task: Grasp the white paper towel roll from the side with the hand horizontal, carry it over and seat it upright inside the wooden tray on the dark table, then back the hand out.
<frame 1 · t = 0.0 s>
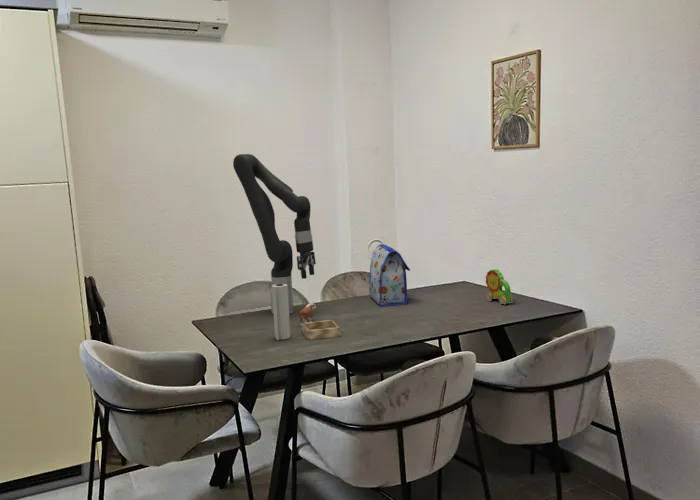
hand: (308, 276, 279), 17 cm above the table, tool pointing down, fingers open, 8 cm apart
paper towel roll: (281, 338, 244), on the table
bull figurine: (307, 323, 265), on the table
lunch bag: (388, 301, 301), on the table
toy lion: (497, 302, 290), on the table
wooden tray: (320, 333, 248), on the table
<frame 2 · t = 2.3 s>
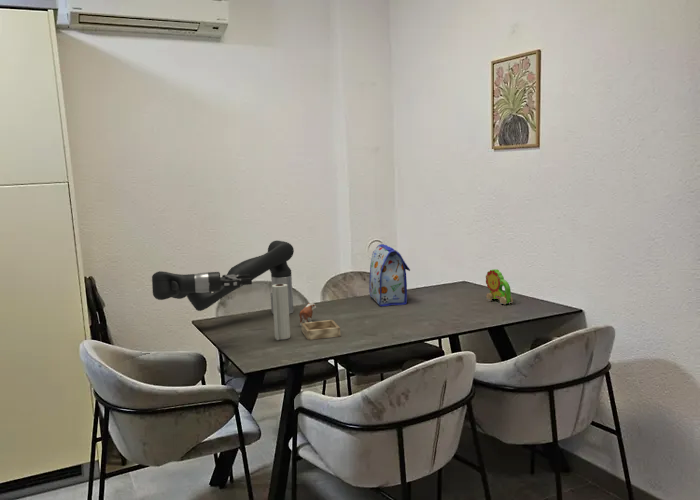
hand: (250, 279, 238), 24 cm above the table, tool horizontal, fingers open, 8 cm apart
nothing on the table moved.
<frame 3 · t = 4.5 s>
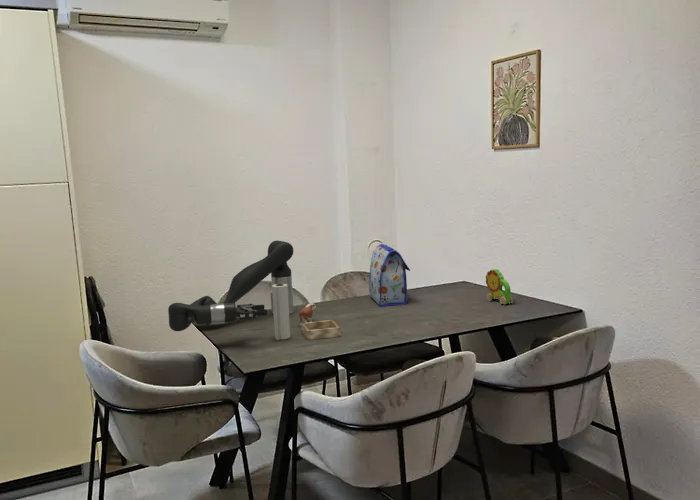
hand: (265, 309, 240), 12 cm above the table, tool horizontal, fingers open, 8 cm apart
nothing on the table moved.
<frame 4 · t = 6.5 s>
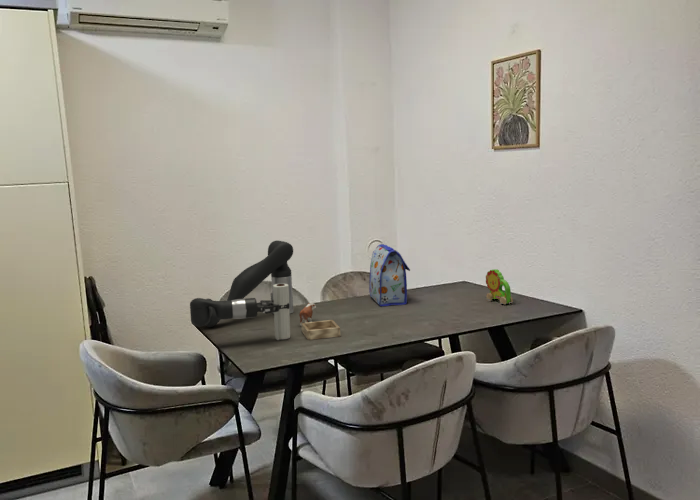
hand: (287, 304, 243), 13 cm above the table, tool horizontal, fingers closed on paper towel roll, 3 cm apart
paper towel roll: (281, 338, 244), on the table, touching gripper
everything else where it was.
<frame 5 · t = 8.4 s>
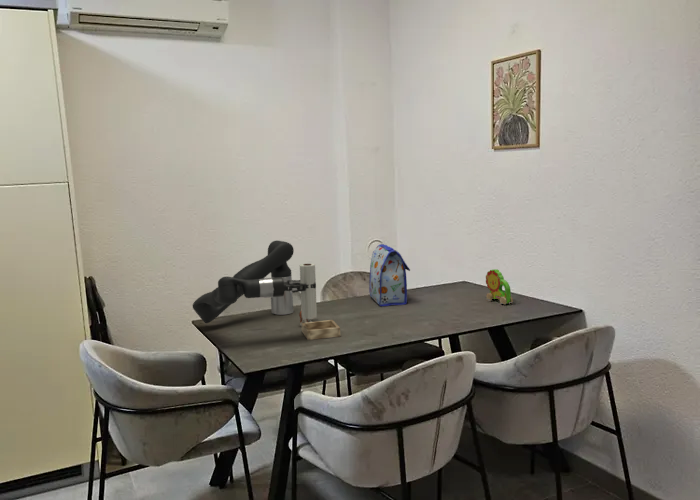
hand: (314, 284, 244), 20 cm above the table, tool horizontal, fingers closed on paper towel roll, 3 cm apart
paper towel roll: (308, 318, 245), point 7 cm above the table, touching gripper
everything else where it was.
when the fingers open (14 cm above the table, at t = 10.3 s): paper towel roll stays where it is, resting on wooden tray.
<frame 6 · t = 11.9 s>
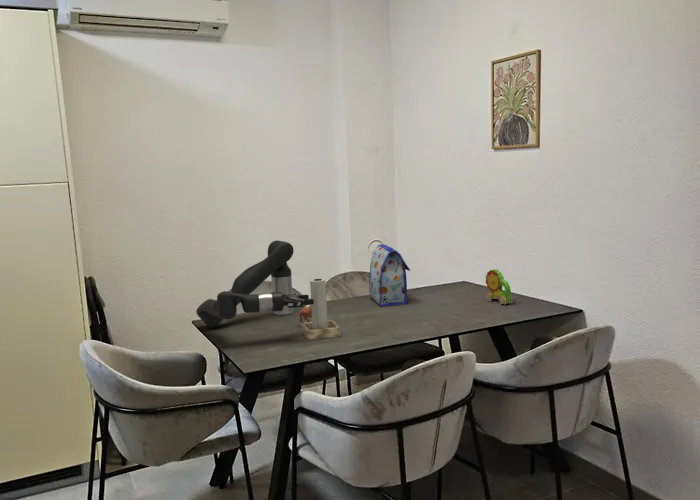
hand: (310, 299, 244), 15 cm above the table, tool horizontal, fingers open, 8 cm apart
paper towel roll: (319, 332, 247), point 1 cm above the table, touching wooden tray
everything else where it was.
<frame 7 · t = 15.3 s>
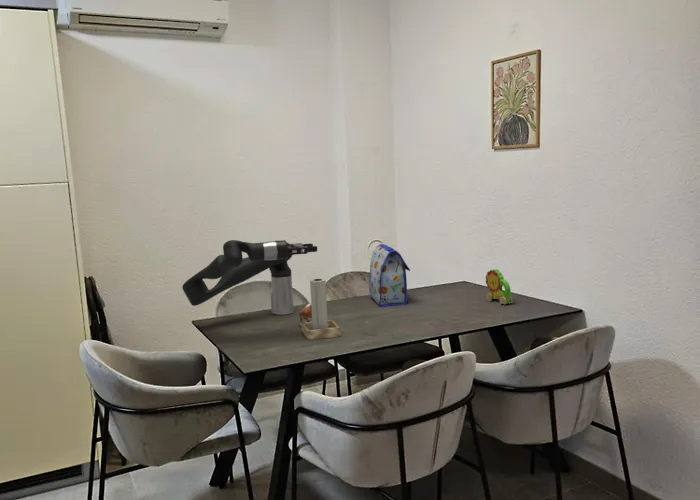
hand: (314, 247, 250), 34 cm above the table, tool horizontal, fingers open, 8 cm apart
nothing on the table moved.
at the end: paper towel roll inside the target area on the wooden tray (0.9 cm from its centre), point 0.6 cm above the wooden tray's base; paper towel roll tilted 0°; the gripper is holding nothing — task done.
